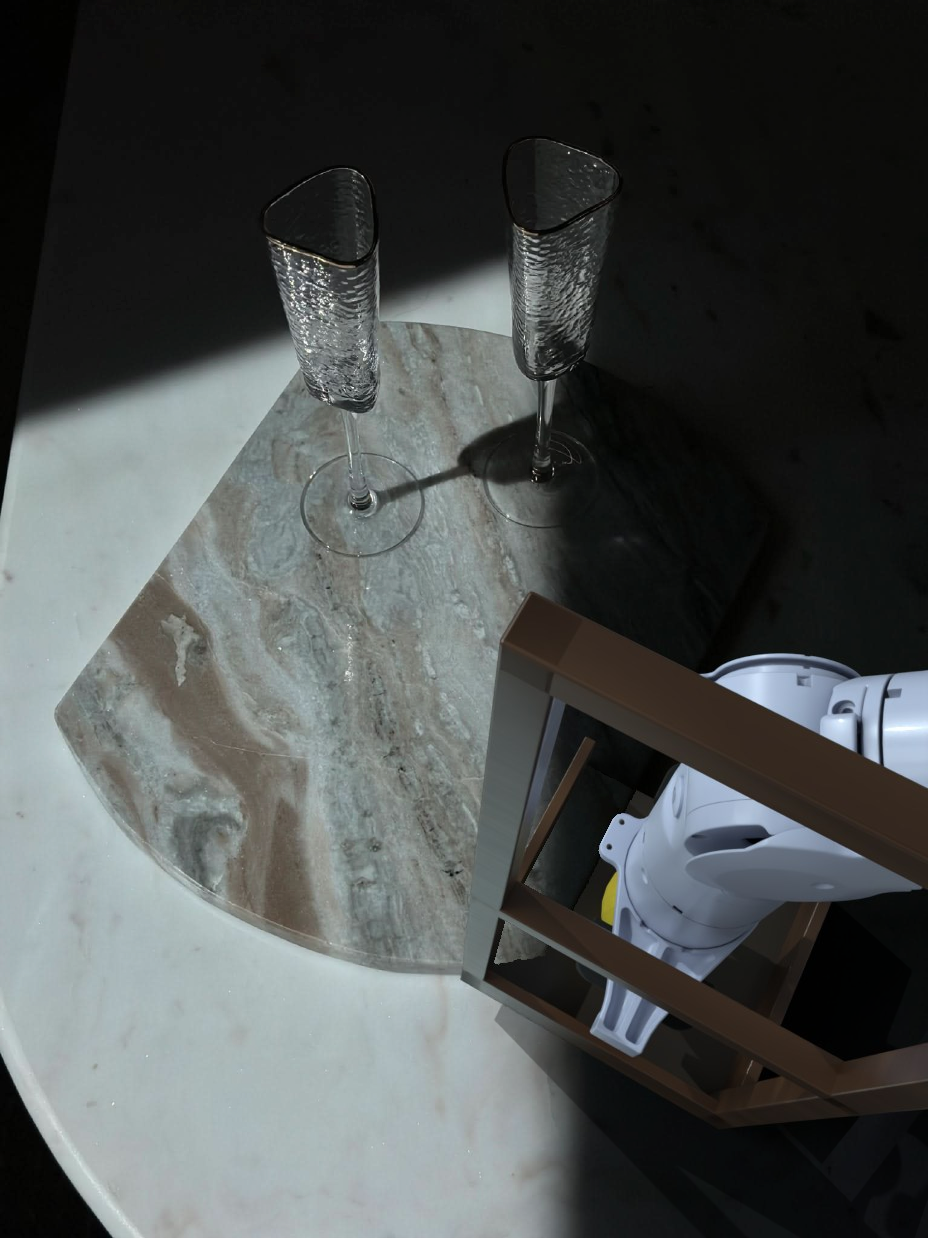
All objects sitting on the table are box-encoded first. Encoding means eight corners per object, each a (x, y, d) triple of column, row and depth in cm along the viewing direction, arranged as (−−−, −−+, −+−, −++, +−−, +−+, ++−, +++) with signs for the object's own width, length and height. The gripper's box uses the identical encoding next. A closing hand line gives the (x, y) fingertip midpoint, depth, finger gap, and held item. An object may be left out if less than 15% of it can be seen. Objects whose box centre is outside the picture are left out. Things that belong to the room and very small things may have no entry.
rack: (577, 760, 63) (788, 152, 25) (820, 887, 60) (1475, 426, 22) (459, 979, 58) (497, 641, 20) (719, 1129, 55) (1338, 1072, 17)
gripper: (699, 648, 47) (645, 754, 59) (534, 972, 41) (512, 1014, 53) (863, 729, 45) (773, 820, 58) (715, 1075, 40) (650, 1094, 52)
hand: (656, 918), depth 55 cm, fingers closed on lemon, 5 cm apart
